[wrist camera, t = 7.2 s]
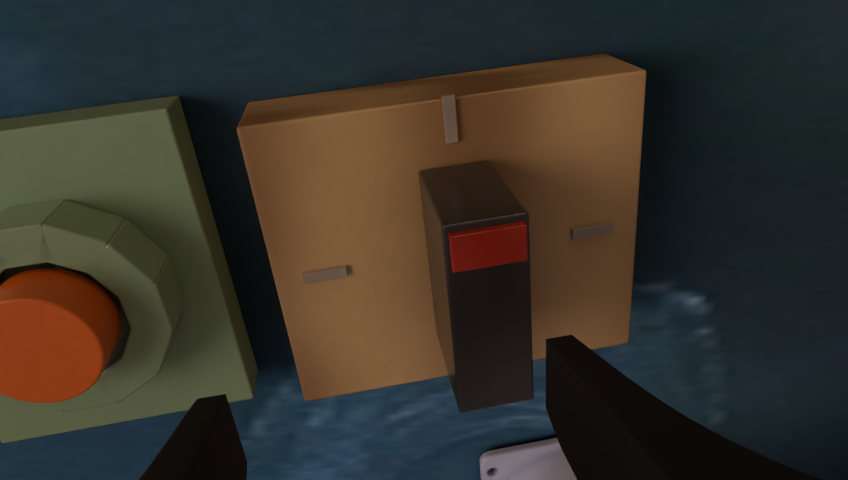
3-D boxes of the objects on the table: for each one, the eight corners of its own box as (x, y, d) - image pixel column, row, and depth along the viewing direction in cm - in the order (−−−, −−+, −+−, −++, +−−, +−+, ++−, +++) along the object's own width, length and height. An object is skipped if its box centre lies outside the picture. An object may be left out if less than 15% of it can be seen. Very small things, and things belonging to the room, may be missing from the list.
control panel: (307, 353, 24) (305, 408, 21) (246, 98, 19) (233, 125, 17) (597, 302, 25) (631, 348, 22) (605, 49, 20) (651, 67, 18)
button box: (258, 370, 24) (249, 434, 21) (22, 411, 23) (-24, 484, 20) (179, 94, 19) (151, 125, 16) (-126, 135, 18) (-218, 176, 15)
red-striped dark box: (498, 322, 21) (537, 406, 17) (436, 333, 21) (461, 420, 17) (489, 159, 18) (533, 216, 14) (417, 169, 18) (443, 230, 14)
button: (138, 355, 19) (122, 392, 18) (20, 375, 19) (-7, 414, 17) (99, 257, 18) (77, 288, 16) (-31, 277, 17) (-65, 311, 16)
